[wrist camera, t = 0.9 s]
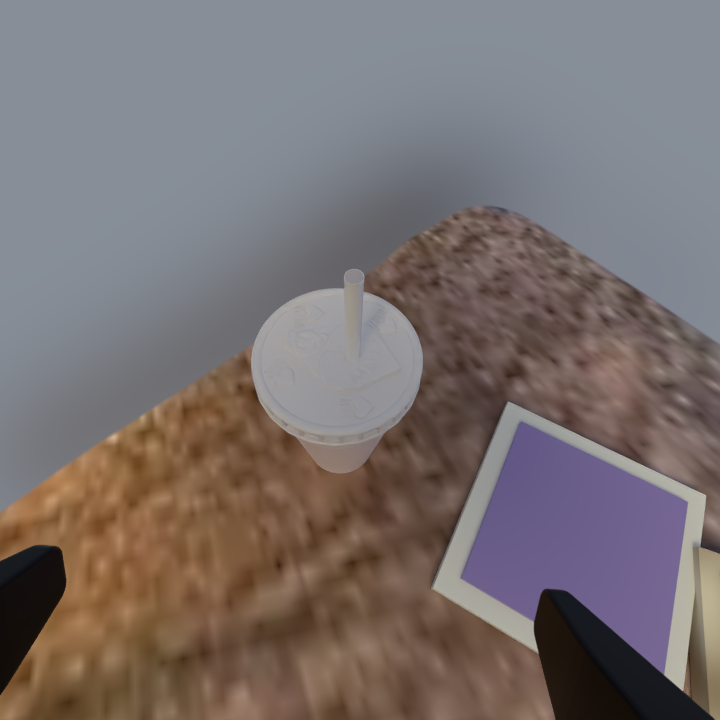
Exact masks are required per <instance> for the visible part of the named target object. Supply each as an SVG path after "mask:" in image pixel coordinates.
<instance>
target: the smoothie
mask: <svg viewBox="0 0 720 720" xmlns="http://www.w3.org/2000/svg"><path fill="white" fill-rule="evenodd" d="M363 291H364V274H363V273H362V272H361V271H360V270H357V269H351V270H349V271H347V272H346V273H345V275H344V288H330V289H322V290H316V291H313V292H309V293H306V294H303V295H301V296H299V297H296V298H294V299H293V300H291V301H289V302H287V303H286V304H284V305H282V306H281V307H280V308H279V309H277V310H276V311H275V312H274V313H273V314H272V315H271V316H270V317H269V318H268V319H267V321H266V322H265V323H264V325H263V326H262V328H261V329H260V331H259V333H258V335H257V338H256V340H255V343H254V346H253V350H252V356H251V370H252V376H253V380H254V385H255V388H256V392H257V395H258V399H259V402H260V403H261V405H262V406H263V408H264V409H265V411H266V412H267V414H268V415H269V417H270V418H271V419H272V420H273V421H274V422H275V423H277V424H278V425H279V426H280V427H281V428H283V429H284V430H285V431H286V432H287V433H289V434H291V435H293V436H296V438H297V439H298V440H299V442H300V443H301V444H302V446H303V447H304V448H305V449H306V451H307V452H308V453H309V455H310V456H311V457H312V459H313V460H314V461H315V462H316V464H317V465H319V466H320V467H321V468H323V469H324V470H326V471H329V472H332V473H338V474H342V473H349V472H352V471H354V470H356V469H358V468H359V467H361V466H362V465H363V464H364V463H365V462H366V461H367V459H368V458H369V456H370V455H371V453H372V452H373V450H374V449H375V447H376V446H377V444H378V442H379V441H380V439H381V438H382V436H383V435H384V433H385V432H386V431H387V430H389V429H390V428H392V427H393V426H395V425H396V424H397V423H398V422H399V421H400V420H401V419H402V418H403V416H404V415H405V414H406V413H407V411H408V410H409V409H410V408H411V406H412V404H413V402H414V399H415V397H416V395H417V392H418V390H419V386H420V379H421V375H422V369H423V354H422V348H421V344H420V341H419V338H418V336H417V333H416V331H415V330H414V328H413V326H412V325H411V323H410V322H409V321H408V319H407V318H406V317H405V316H404V315H403V314H402V313H401V312H400V311H399V310H398V309H397V308H396V307H394V306H393V305H391V304H390V303H389V302H387V301H385V300H383V299H382V298H379V297H377V296H375V295H373V294H370V293H367V292H363Z"/></svg>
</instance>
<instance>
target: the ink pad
mask: <svg viewBox="0 0 720 720" xmlns="http://www.w3.org/2000/svg"><path fill="white" fill-rule="evenodd" d="M705 503H706V495H704V494H702V493H700V492H698V491H696V490H694V489H691V488H689V487H687V486H685V485H683V484H681V483H679V482H677V481H675V480H672V479H670V478H668V477H666V476H664V475H662V474H660V473H658V472H656V471H654V470H651V469H649V468H647V467H645V466H643V465H641V464H639V463H637V462H635V461H633V460H630V459H628V458H626V457H624V456H622V455H620V454H618V453H616V452H614V451H612V450H609V449H607V448H605V447H603V446H601V445H599V444H597V443H595V442H593V441H591V440H588V439H586V438H584V437H582V436H580V435H578V434H576V433H574V432H572V431H569V430H567V429H565V428H563V427H561V426H559V425H557V424H555V423H553V422H551V421H548V420H546V419H544V418H542V417H540V416H538V415H536V414H534V413H532V412H530V411H527V410H525V409H523V408H521V407H519V406H517V405H515V404H513V403H511V402H509V401H508V402H507V404H506V405H505V407H504V409H503V411H502V414H501V416H500V419H499V421H498V424H497V426H496V429H495V431H494V434H493V436H492V438H491V441H490V443H489V446H488V448H487V451H486V453H485V456H484V458H483V461H482V463H481V465H480V468H479V470H478V473H477V475H476V478H475V480H474V483H473V485H472V488H471V490H470V492H469V495H468V497H467V500H466V502H465V505H464V507H463V510H462V512H461V515H460V517H459V519H458V522H457V524H456V527H455V529H454V532H453V534H452V537H451V539H450V542H449V544H448V546H447V549H446V551H445V554H444V556H443V559H442V561H441V564H440V566H439V569H438V571H437V573H436V576H435V578H434V581H433V583H432V586H431V589H432V590H434V591H436V592H437V593H439V594H440V595H442V596H444V597H445V598H447V599H449V600H450V601H452V602H454V603H455V604H457V605H459V606H460V607H462V608H464V609H465V610H467V611H468V612H470V613H472V614H473V615H475V616H477V617H478V618H480V619H482V620H483V621H485V622H487V623H488V624H490V625H492V626H493V627H495V628H496V629H498V630H500V631H501V632H503V633H505V634H506V635H508V636H510V637H511V638H513V639H515V640H516V641H518V642H520V643H521V644H523V645H524V646H526V647H528V648H529V649H531V650H533V651H534V652H536V653H538V649H537V645H536V641H535V636H534V620H535V616H536V611H537V607H538V603H539V599H540V595H541V592H542V591H543V590H544V589H547V588H548V589H560V590H565V591H568V592H569V593H570V594H572V595H573V596H574V597H575V598H576V599H577V600H579V601H580V602H581V603H582V604H583V605H584V606H585V607H587V608H588V609H589V610H590V611H591V612H592V613H594V614H595V615H596V616H597V617H598V618H599V619H600V620H602V621H603V622H604V623H605V624H606V625H607V626H608V627H610V628H611V629H612V630H613V631H614V632H615V633H616V634H618V635H619V636H620V637H621V638H622V639H623V640H625V641H626V642H627V643H628V644H629V645H630V646H631V647H633V648H634V649H635V650H636V651H637V652H638V653H639V654H641V655H642V656H643V657H644V658H645V659H646V660H648V661H649V662H650V663H651V664H652V665H653V666H654V667H656V668H657V669H658V670H659V671H660V672H661V673H662V674H664V675H665V676H666V677H667V678H668V679H669V680H671V681H672V682H673V683H674V684H675V685H676V686H677V687H679V688H680V689H681V690H682V691H683V689H684V681H685V672H686V664H687V655H688V647H689V638H690V630H691V621H692V613H693V604H694V596H695V580H694V564H693V547H700V545H701V537H702V528H703V520H704V511H705ZM538 654H539V653H538Z"/></svg>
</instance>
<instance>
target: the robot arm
mask: <svg viewBox="0 0 720 720" xmlns="http://www.w3.org/2000/svg"><path fill="white" fill-rule="evenodd" d="M65 588H66V574H65V568H64V561H63V554H62V551H61V549H60V548H59V547H57V546H49V545H35V546H32V547H30V548H27V549H25V550H23V551H21V552H19V553H17V554H15V555H12V556H10V557H8V558H6V559H4V560H2V561H0V695H1V693H2V692H3V691H4V689H5V688H6V686H7V685H8V683H9V682H10V680H11V679H12V677H13V675H14V674H15V672H16V671H17V669H18V668H19V666H20V664H21V663H22V661H23V659H24V658H25V656H26V655H27V653H28V651H29V650H30V648H31V646H32V645H33V643H34V642H35V640H36V638H37V637H38V635H39V633H40V632H41V630H42V629H43V627H44V625H45V624H46V622H47V620H48V619H49V617H50V616H51V614H52V612H53V611H54V609H55V607H56V606H57V604H58V602H59V601H60V599H61V598H62V596H63V593H64V591H65ZM534 636H535V641H536V645H537V649H538V653H539V656H540V660H541V664H542V668H543V672H544V676H545V680H546V684H547V688H548V692H549V696H550V700H551V703H552V707H553V711H554V715H555V719H556V720H715V719H714V718H713V717H712V716H711V715H710V714H708V713H707V712H706V711H705V710H704V709H703V708H702V707H700V706H699V705H698V704H697V703H696V702H695V701H694V700H692V699H691V698H690V697H689V696H688V695H687V694H685V693H684V692H683V691H682V690H681V689H680V688H679V687H677V686H676V685H675V684H674V683H673V682H672V681H671V680H669V679H668V678H667V677H666V676H665V675H664V674H662V673H661V672H660V671H659V670H658V669H657V668H656V667H654V666H653V665H652V664H651V663H650V662H649V661H648V660H646V659H645V658H644V657H643V656H642V655H641V654H639V653H638V652H637V651H636V650H635V649H634V648H633V647H631V646H630V645H629V644H628V643H627V642H626V641H625V640H623V639H622V638H621V637H620V636H619V635H618V634H616V633H615V632H614V631H613V630H612V629H611V628H610V627H608V626H607V625H606V624H605V623H604V622H603V621H602V620H600V619H599V618H598V617H597V616H596V615H595V614H594V613H592V612H591V611H590V610H589V609H588V608H587V607H585V606H584V605H583V604H582V603H581V602H580V601H579V600H577V599H576V598H575V597H574V596H573V595H572V594H570V593H569V592H568V591H565V590H560V589H548V588H547V589H544V590H543V591H542V592H541V595H540V599H539V603H538V607H537V611H536V616H535V620H534Z"/></svg>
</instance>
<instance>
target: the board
mask: <svg viewBox="0 0 720 720" xmlns="http://www.w3.org/2000/svg"><path fill="white" fill-rule="evenodd" d="M693 564H694V580H695V596H694V604H693V613H692V621H691V630H690V638H689V656H690V675H691V694H692V700H694V701H695V702H696V703H697V704H698V705H699V706H700V707H702V708H703V709H704V710H705V711H706V712H707V713H708V714H710V715H711V716H712V717H713V718H714V719H715V720H720V554H719V553H716V552H713V551H710V550H707V549H704V548H701V547H693Z"/></svg>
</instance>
